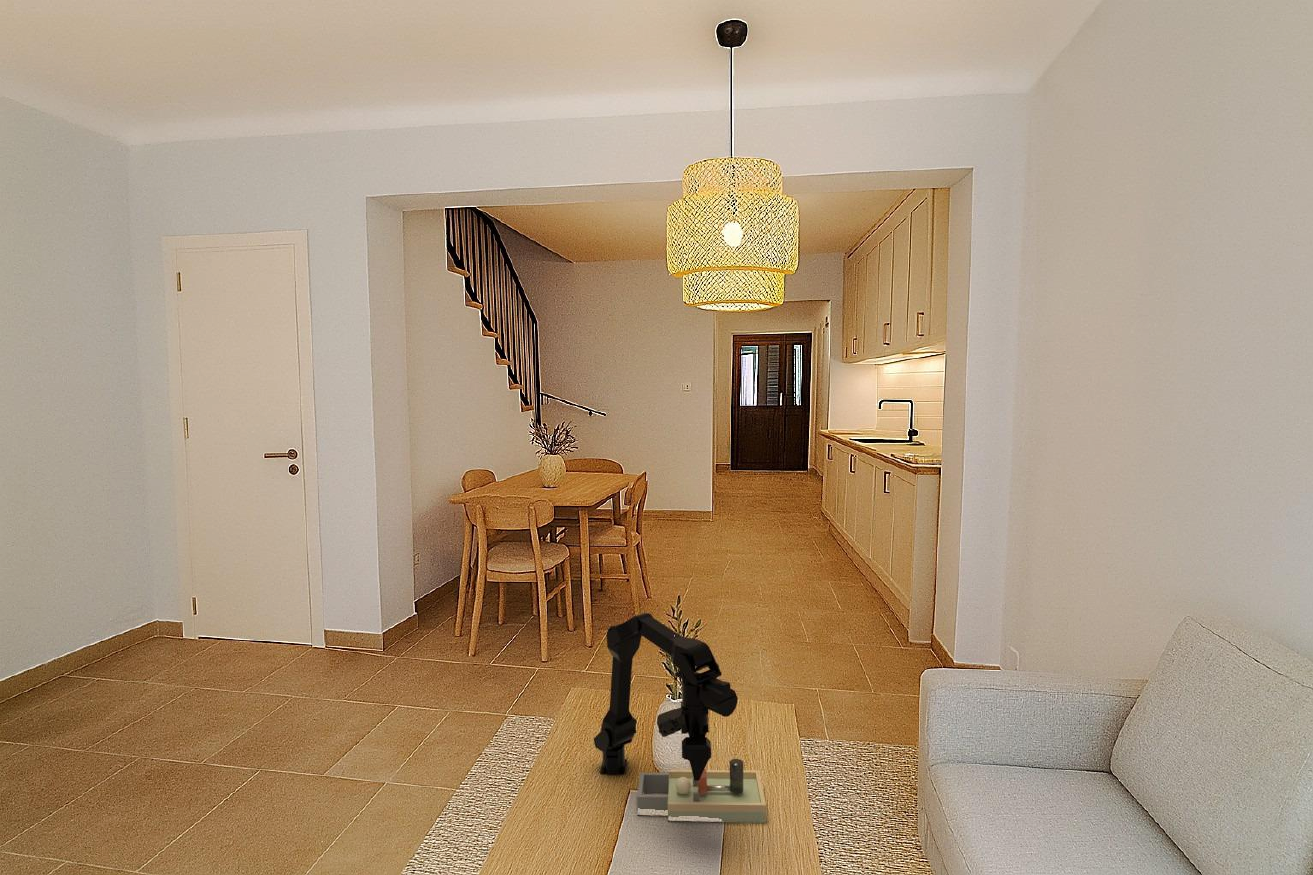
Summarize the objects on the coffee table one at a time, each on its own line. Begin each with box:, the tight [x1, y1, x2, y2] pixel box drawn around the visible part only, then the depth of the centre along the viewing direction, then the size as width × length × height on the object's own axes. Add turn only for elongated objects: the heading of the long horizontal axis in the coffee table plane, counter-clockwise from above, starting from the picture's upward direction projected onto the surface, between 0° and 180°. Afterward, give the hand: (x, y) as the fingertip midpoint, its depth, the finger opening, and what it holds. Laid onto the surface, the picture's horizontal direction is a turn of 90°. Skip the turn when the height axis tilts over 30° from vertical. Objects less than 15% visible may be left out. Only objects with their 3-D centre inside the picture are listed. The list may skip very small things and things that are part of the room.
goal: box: [636, 771, 669, 811], centre depth 161 cm, size 10×7×4 cm
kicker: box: [698, 758, 744, 794], centre depth 160 cm, size 4×11×7 cm, turn 88°
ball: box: [676, 777, 691, 794], centre depth 161 cm, size 4×4×4 cm
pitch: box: [667, 769, 767, 824], centre depth 161 cm, size 14×22×4 cm, turn 88°
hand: (696, 768), depth 153 cm, fingers open, 9 cm apart
